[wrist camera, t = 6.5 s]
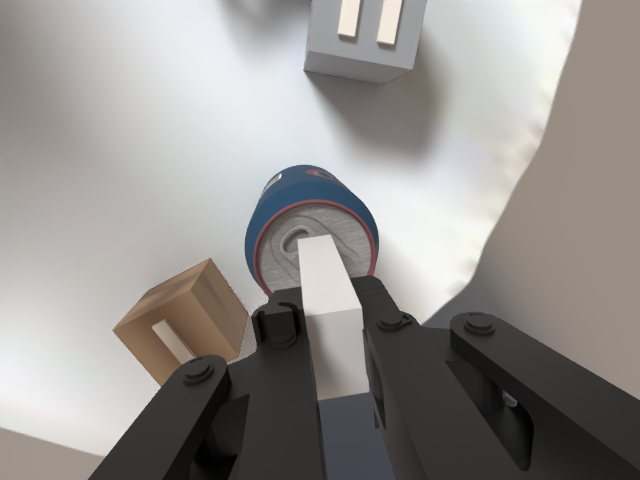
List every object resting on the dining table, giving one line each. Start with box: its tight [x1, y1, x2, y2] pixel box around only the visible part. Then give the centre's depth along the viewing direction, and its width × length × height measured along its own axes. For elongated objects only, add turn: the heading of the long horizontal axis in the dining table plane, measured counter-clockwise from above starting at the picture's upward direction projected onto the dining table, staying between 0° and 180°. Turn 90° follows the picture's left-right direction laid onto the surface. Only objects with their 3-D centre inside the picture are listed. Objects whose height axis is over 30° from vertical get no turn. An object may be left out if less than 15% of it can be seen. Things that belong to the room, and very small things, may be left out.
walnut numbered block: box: [112, 258, 248, 387], centre depth 25 cm, size 6×6×6 cm
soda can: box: [245, 165, 379, 297], centre depth 21 cm, size 7×7×12 cm
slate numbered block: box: [304, 0, 427, 85], centre depth 20 cm, size 6×6×6 cm
